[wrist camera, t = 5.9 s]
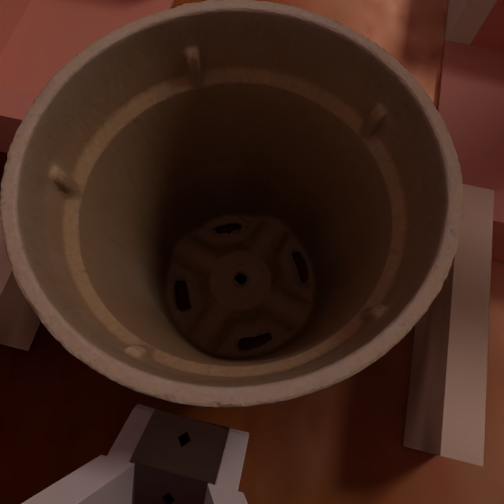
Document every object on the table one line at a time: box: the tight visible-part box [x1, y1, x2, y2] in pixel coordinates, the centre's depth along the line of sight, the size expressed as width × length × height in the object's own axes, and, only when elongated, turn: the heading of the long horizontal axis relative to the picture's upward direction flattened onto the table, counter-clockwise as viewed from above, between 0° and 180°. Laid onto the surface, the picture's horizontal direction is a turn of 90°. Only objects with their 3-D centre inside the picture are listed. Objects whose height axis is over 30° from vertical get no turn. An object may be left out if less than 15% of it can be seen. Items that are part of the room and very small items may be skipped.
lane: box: [0, 184, 494, 466], centre depth 15 cm, size 9×16×3 cm, turn 77°
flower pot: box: [0, 0, 464, 407], centre depth 13 cm, size 9×9×9 cm
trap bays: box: [0, 0, 504, 262], centre depth 18 cm, size 12×30×3 cm, turn 77°
